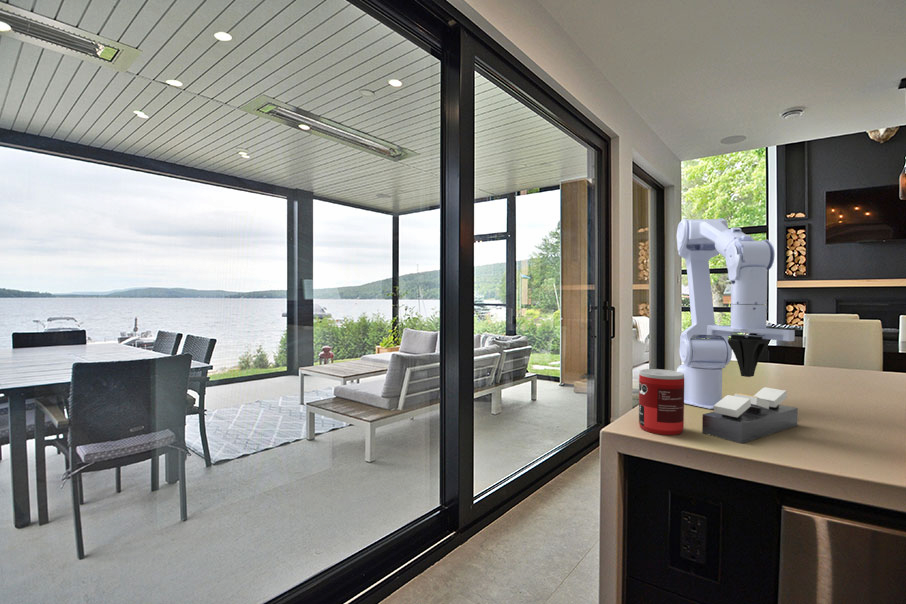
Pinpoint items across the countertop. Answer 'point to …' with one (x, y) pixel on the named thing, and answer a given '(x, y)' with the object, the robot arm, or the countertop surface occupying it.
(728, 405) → the rocker near
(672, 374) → the canned food
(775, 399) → the rocker far
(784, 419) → the switch box
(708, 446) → the countertop surface
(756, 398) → the rocker mid
